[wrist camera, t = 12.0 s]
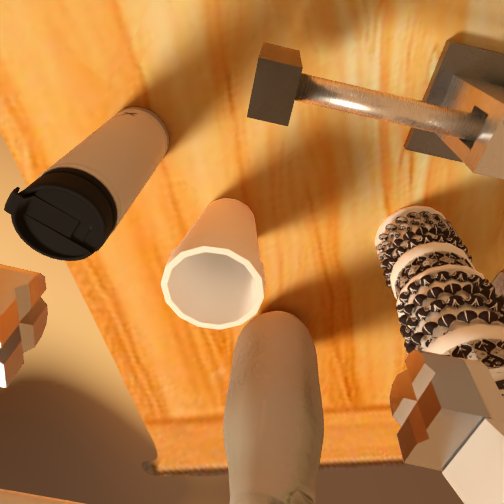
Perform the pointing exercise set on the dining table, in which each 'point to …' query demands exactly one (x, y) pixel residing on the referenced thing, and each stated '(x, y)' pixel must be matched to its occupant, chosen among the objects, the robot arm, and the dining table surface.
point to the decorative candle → (440, 290)
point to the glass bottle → (273, 413)
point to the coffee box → (499, 284)
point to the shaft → (345, 98)
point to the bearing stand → (467, 108)
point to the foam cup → (217, 268)
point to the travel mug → (90, 187)
